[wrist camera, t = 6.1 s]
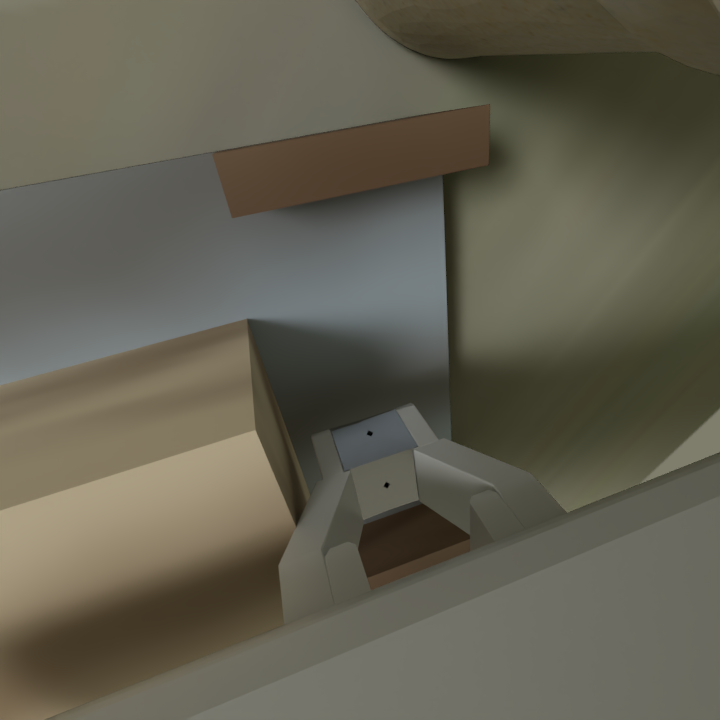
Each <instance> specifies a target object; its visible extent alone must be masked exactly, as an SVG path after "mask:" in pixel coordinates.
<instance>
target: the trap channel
mask: <svg viewBox="0 0 720 720" xmlns="http://www.w3.org/2000/svg"><path fill="white" fill-rule="evenodd" d="M489 136H490V104H488V105H482V106H475V107H469V108H462V109H456V110H449V111H443V112H436V113H430V114H424V115H418V116H412V117H407V118H401V119H395V120H390V121H384V122H379V123H373V124H367V125H362V126H356V127H351V128H345V129H339V130H334V131H328V132H323V133H317V134H311V135H306V136H300V137H295V138H289V139H284V140H278V141H272V142H267V143H261V144H256V145H250V146H244V147H239V148H233V149H228V150H222V151H216V152H211V153H205V154H200V155H194V156H188V157H183V158H177V159H172V160H166V161H160V162H155V163H149V164H144V165H138V166H132V167H127V168H121V169H116V170H110V171H104V172H99V173H93V174H88V175H82V176H77V177H71V178H65V179H60V180H54V181H49V182H43V183H37V184H32V185H26V186H21V187H15V188H9V189H4V190H0V385H3V384H7V383H11V382H14V381H18V380H22V379H25V378H29V377H33V376H37V375H40V374H44V373H48V372H51V371H55V370H59V369H62V368H66V367H70V366H74V365H77V364H81V363H85V362H88V361H92V360H96V359H99V358H103V357H107V356H111V355H114V354H118V353H122V352H125V351H129V350H133V349H136V348H140V347H144V346H147V345H151V344H155V343H159V342H162V341H166V340H170V339H173V338H177V337H181V336H184V335H188V334H192V333H196V332H199V331H203V330H207V329H210V328H214V327H218V326H221V325H225V324H229V323H233V322H236V321H240V320H244V319H247V320H248V323H249V326H250V329H251V331H252V334H253V337H254V340H255V343H256V345H257V348H258V351H259V354H260V356H261V359H262V362H263V365H264V368H265V370H266V373H267V376H268V379H269V381H270V384H271V387H272V390H273V393H274V395H275V398H276V401H277V404H278V406H279V409H280V412H281V415H282V418H283V420H284V423H285V426H286V429H287V431H288V434H289V437H290V440H291V443H292V445H293V448H294V451H295V454H296V456H297V459H298V462H299V465H300V468H301V470H302V473H303V476H304V479H305V482H306V484H307V487H308V490H309V493H310V495H311V493H312V491H313V489H314V486H315V484H316V482H317V481H320V480H322V477H321V473H320V469H319V466H318V462H317V458H316V454H315V450H314V447H313V443H312V439H311V435H312V434H315V433H319V432H322V431H325V430H330V429H331V428H334V427H338V426H341V425H345V424H348V423H351V422H355V421H358V420H361V419H365V418H368V417H371V416H374V415H377V414H380V413H383V412H386V411H389V410H392V409H394V408H397V407H400V406H403V405H406V404H409V403H412V404H414V405H415V407H416V408H417V409H418V411H419V412H420V414H421V415H422V416H423V418H424V419H425V421H426V422H427V424H428V425H429V426H430V428H431V429H432V431H433V432H434V433H435V435H436V436H437V438H438V439H439V440H440V439H443V438H445V439H448V440H450V441H451V411H450V381H449V351H448V321H447V291H446V261H445V232H444V202H443V174H448V173H452V172H457V171H462V170H467V169H472V168H476V167H481V166H486V165H489ZM358 551H359V555H360V558H361V561H362V564H363V567H364V570H365V573H366V576H367V580H368V583H369V586H370V589H371V590H373V589H376V588H378V587H381V586H383V585H386V584H388V583H391V582H394V581H396V580H399V579H401V578H404V577H406V576H409V575H411V574H414V573H416V572H419V571H421V570H424V569H427V568H429V567H432V566H434V565H437V564H439V563H442V562H444V561H447V560H449V559H452V558H454V557H457V556H459V555H462V554H465V553H467V552H470V535H469V534H468V533H466V532H465V531H463V530H462V529H460V528H459V527H457V526H456V525H454V524H453V523H451V522H450V521H448V520H447V519H445V518H444V517H442V516H441V515H439V514H438V513H436V512H435V511H433V510H432V509H431V508H429V507H428V506H426V505H425V504H423V503H422V502H420V500H417V501H414V502H411V503H408V504H405V505H402V506H399V507H396V508H393V509H390V510H388V511H385V512H383V513H380V514H378V515H375V516H373V517H370V518H368V519H365V520H364V524H363V528H362V533H361V537H360V541H359V546H358Z"/></svg>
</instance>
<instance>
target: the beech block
mask: <svg viewBox="0 0 720 720" xmlns="http://www.w3.org/2000/svg"><path fill="white" fill-rule="evenodd" d="M309 497H310V493H309V490H308V487H307V484H306V482H305V479H304V476H303V473H302V470H301V468H300V465H299V462H298V459H297V456H296V454H295V451H294V448H293V445H292V443H291V440H290V437H289V434H288V431H287V429H286V426H285V423H284V420H283V418H282V415H281V412H280V409H279V406H278V404H277V401H276V398H275V395H274V393H273V390H272V387H271V384H270V381H269V379H268V376H267V373H266V370H265V368H264V365H263V362H262V359H261V356H260V354H259V351H258V348H257V345H256V343H255V340H254V337H253V334H252V331H251V329H250V326H249V323H248V320H247V319H244V320H240V321H236V322H233V323H229V324H225V325H221V326H218V327H214V328H210V329H207V330H203V331H199V332H196V333H192V334H188V335H184V336H181V337H177V338H173V339H170V340H166V341H162V342H159V343H155V344H151V345H147V346H144V347H140V348H136V349H133V350H129V351H125V352H122V353H118V354H114V355H111V356H107V357H103V358H99V359H96V360H92V361H88V362H85V363H81V364H77V365H74V366H70V367H66V368H62V369H59V370H55V371H51V372H48V373H44V374H40V375H37V376H33V377H29V378H25V379H22V380H18V381H14V382H11V383H7V384H3V385H0V720H44V719H47V718H49V717H52V716H55V715H57V714H60V713H62V712H65V711H67V710H70V709H72V708H75V707H77V706H80V705H82V704H85V703H87V702H90V701H92V700H95V699H98V698H100V697H103V696H105V695H108V694H110V693H113V692H115V691H118V690H120V689H123V688H125V687H128V686H130V685H133V684H135V683H138V682H141V681H143V680H146V679H148V678H151V677H153V676H156V675H158V674H161V673H163V672H166V671H168V670H171V669H173V668H176V667H178V666H181V665H184V664H186V663H189V662H191V661H194V660H196V659H199V658H201V657H204V656H206V655H209V654H211V653H214V652H216V651H219V650H221V649H224V648H227V647H229V646H232V645H234V644H237V643H239V642H242V641H244V640H247V639H249V638H252V637H254V636H257V635H259V634H262V633H264V632H267V631H270V630H272V629H275V628H277V627H280V626H282V625H284V617H283V607H282V597H281V587H280V577H279V567H278V565H279V563H280V561H281V559H282V557H283V554H284V552H285V550H286V548H287V546H288V543H289V541H290V539H291V537H292V535H293V533H294V530H295V529H296V526H297V524H298V522H299V519H300V517H301V515H302V513H303V511H304V508H305V506H306V504H307V502H308V500H309Z"/></svg>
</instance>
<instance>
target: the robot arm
mask: <svg viewBox="0 0 720 720" xmlns="http://www.w3.org/2000/svg"><path fill="white" fill-rule="evenodd" d="M311 439H312V443H313V447H314V450H315V454H316V458H317V462H318V466H319V469H320V473H321V477H322V480H320V481H317V482H316V484H315V486H314V489H313V491H312V493H311V495H310V497H309V500H308V502H307V504H306V506H305V508H304V511H303V513H302V515H301V517H300V519H299V522H298V524H297V526H296V529H295V530H294V533H293V535H292V537H291V539H290V541H289V543H288V546H287V548H286V550H285V552H284V554H283V557H282V559H281V561H280V563H279V565H278V567H279V577H280V587H281V597H282V607H283V617H284V625H282V626H280V627H277V628H275V629H272V630H270V631H267V632H264V633H262V634H259V635H257V636H254V637H252V638H249V639H247V640H244V641H242V642H239V643H237V644H234V645H232V646H229V647H227V648H224V649H221V650H219V651H216V652H214V653H211V654H209V655H206V656H204V657H201V658H199V659H196V660H194V661H191V662H189V663H186V664H184V665H181V666H178V667H176V668H173V669H171V670H168V671H166V672H163V673H161V674H158V675H156V676H153V677H151V678H148V679H146V680H143V681H141V682H138V683H135V684H133V685H130V686H128V687H125V688H123V689H120V690H118V691H115V692H113V693H110V694H108V695H105V696H103V697H100V698H98V699H95V700H92V701H90V702H87V703H85V704H82V705H80V706H77V707H75V708H72V709H70V710H67V711H65V712H62V713H60V714H57V715H55V716H52V717H49V718H47V719H44V720H720V453H717V454H714V455H712V456H709V457H707V458H704V459H702V460H699V461H697V462H694V463H692V464H689V465H687V466H684V467H682V468H679V469H677V470H674V471H671V472H669V473H667V474H664V475H662V476H659V477H656V478H654V479H651V480H649V481H647V482H644V483H641V484H639V485H636V486H633V487H631V488H628V489H626V490H623V491H621V492H618V493H616V494H613V495H611V496H608V497H606V498H603V499H601V500H598V501H596V502H593V503H590V504H588V505H585V506H583V507H580V508H578V509H575V510H573V511H570V512H568V513H567V512H566V511H565V510H564V509H563V508H562V507H561V506H560V505H559V504H558V503H557V501H556V500H555V499H554V498H553V497H552V496H551V495H550V494H549V493H548V492H547V490H546V489H545V488H544V487H543V486H542V485H541V484H540V483H539V482H538V480H537V479H536V478H535V477H534V476H533V475H532V474H531V473H529V472H527V471H525V470H522V469H520V468H517V467H515V466H512V465H510V464H507V463H505V462H502V461H500V460H497V459H495V458H492V457H490V456H487V455H485V454H482V453H480V452H477V451H475V450H472V449H470V448H467V447H465V446H462V445H460V444H457V443H455V442H452V441H450V440H448V439H445V438H443V439H440V440H439V439H438V438H437V436H436V435H435V433H434V432H433V431H432V429H431V428H430V426H429V425H428V424H427V422H426V421H425V419H424V418H423V416H422V415H421V414H420V412H419V411H418V409H417V408H416V407H415V405H414V404H412V403H409V404H406V405H403V406H400V407H397V408H394V409H392V410H389V411H386V412H383V413H380V414H377V415H374V416H371V417H368V418H365V419H361V420H358V421H355V422H351V423H348V424H345V425H341V426H338V427H334V428H331V429H330V430H325V431H322V432H319V433H315V434H312V435H311ZM417 500H420V502H422V503H423V504H425V505H426V506H428V507H429V508H431V509H432V510H433V511H435V512H436V513H438V514H439V515H441V516H442V517H444V518H445V519H447V520H448V521H450V522H451V523H453V524H454V525H456V526H457V527H459V528H460V529H462V530H463V531H465V532H466V533H468V534H469V535H470V552H467V553H465V554H462V555H459V556H457V557H454V558H452V559H449V560H447V561H444V562H442V563H439V564H437V565H434V566H432V567H429V568H427V569H424V570H421V571H419V572H416V573H414V574H411V575H409V576H406V577H404V578H401V579H399V580H396V581H394V582H391V583H388V584H386V585H383V586H381V587H378V588H376V589H373V590H371V589H370V586H369V583H368V580H367V576H366V573H365V570H364V567H363V564H362V561H361V558H360V555H359V551H358V546H359V541H360V537H361V533H362V528H363V524H364V520H365V519H368V518H370V517H373V516H375V515H378V514H380V513H383V512H385V511H388V510H390V509H393V508H396V507H399V506H402V505H405V504H408V503H411V502H414V501H417Z"/></svg>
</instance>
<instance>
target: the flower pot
mask: <svg viewBox="0 0 720 720" xmlns="http://www.w3.org/2000/svg"><path fill="white" fill-rule="evenodd" d="M356 2H357V3H358V4H359V5H360V7H361V8H362V9H363V10H364V12H365V13H366V14H367V15H368V16H369V17H370V19H371V20H372V21H373V22H374V23H375V24H376V25H377V26H378V27H379V28H380V29H381V30H382V31H384V32H385V33H386V34H387V35H389V36H390V37H391V38H393V39H394V40H396V41H397V42H399V43H400V44H402V45H404V46H406V47H407V48H409V49H412V50H414V51H417V52H419V53H421V54H424V55H428V56H432V57H437V58H445V59H454V58H470V57H475V56H499V55H535V54H578V53H612V52H658V53H661V54H663V55H665V56H667V57H669V58H671V59H673V60H675V61H678V62H680V63H682V64H684V65H686V66H689V67H692V68H695V69H699V70H702V71H705V72H709V73H712V74H717V75H720V0H356Z"/></svg>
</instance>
